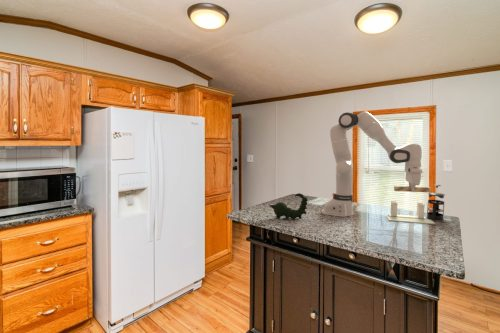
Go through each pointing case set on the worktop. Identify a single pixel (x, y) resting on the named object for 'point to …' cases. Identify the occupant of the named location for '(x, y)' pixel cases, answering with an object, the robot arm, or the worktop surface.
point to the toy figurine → (283, 210)
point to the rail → (408, 189)
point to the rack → (419, 215)
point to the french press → (435, 207)
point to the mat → (410, 220)
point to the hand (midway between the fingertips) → (411, 189)
